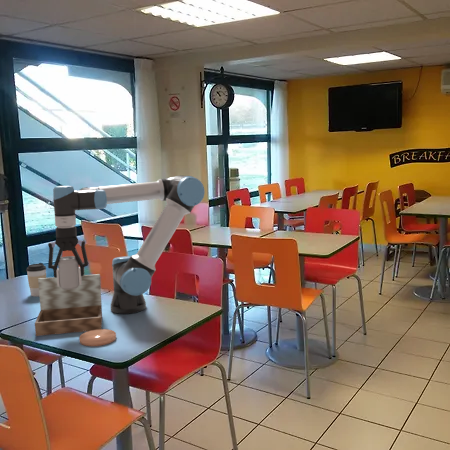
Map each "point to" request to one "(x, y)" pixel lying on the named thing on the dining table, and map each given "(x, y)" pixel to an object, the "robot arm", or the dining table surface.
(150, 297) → the dining table surface
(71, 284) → the can
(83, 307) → the hinged wooden box
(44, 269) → the coffee cup
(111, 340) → the brown wooden disc
